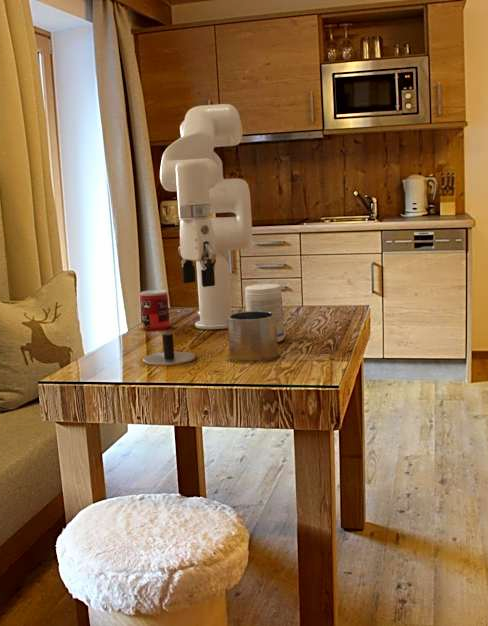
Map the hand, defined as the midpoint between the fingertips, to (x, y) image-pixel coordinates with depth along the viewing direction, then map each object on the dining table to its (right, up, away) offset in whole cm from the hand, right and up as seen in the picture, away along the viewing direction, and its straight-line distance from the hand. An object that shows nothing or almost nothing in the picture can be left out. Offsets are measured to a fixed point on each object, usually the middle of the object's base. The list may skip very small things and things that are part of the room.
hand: (198, 284), depth 198 cm
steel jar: (+13, -18, +3) cm, 22 cm away
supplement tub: (+18, -15, +21) cm, 31 cm away
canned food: (-13, -12, +48) cm, 51 cm away
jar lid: (-7, -18, +4) cm, 20 cm away
